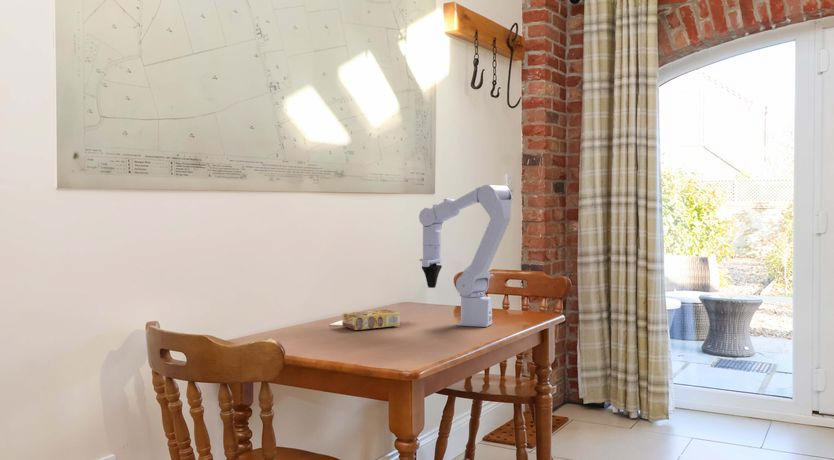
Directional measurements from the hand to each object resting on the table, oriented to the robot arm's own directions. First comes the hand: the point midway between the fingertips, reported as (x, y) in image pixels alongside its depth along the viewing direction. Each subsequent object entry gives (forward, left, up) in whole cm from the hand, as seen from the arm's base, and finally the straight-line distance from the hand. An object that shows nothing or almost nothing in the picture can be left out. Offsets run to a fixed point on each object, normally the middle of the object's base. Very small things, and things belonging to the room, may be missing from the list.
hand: (431, 287), depth 250 cm
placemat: (+20, +13, -10) cm, 26 cm away
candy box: (+8, +15, -8) cm, 18 cm away
